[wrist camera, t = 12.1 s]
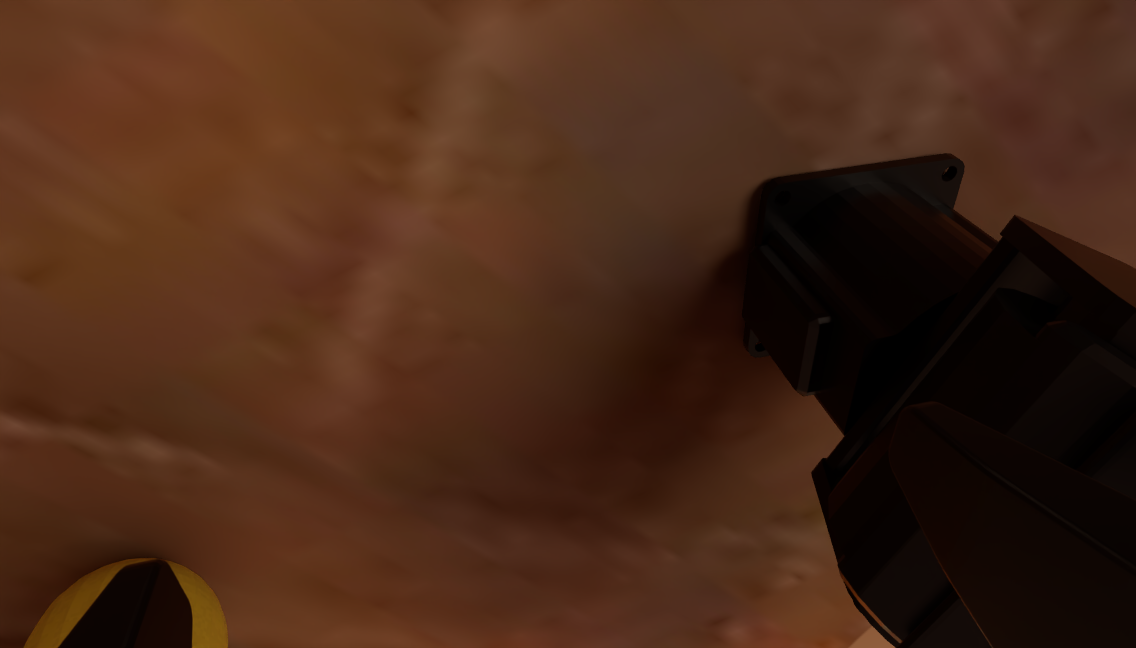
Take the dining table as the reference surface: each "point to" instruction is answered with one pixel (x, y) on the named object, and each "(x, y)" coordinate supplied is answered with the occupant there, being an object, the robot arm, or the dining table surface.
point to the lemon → (82, 594)
